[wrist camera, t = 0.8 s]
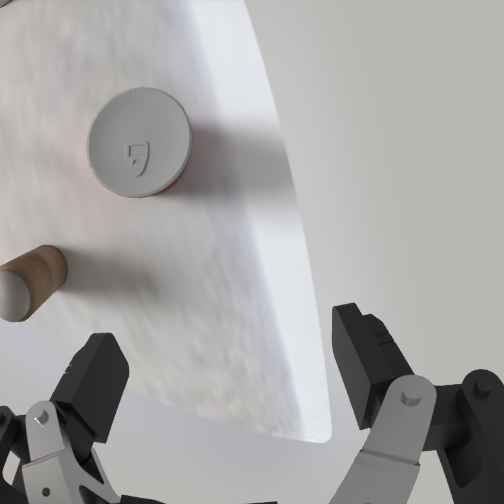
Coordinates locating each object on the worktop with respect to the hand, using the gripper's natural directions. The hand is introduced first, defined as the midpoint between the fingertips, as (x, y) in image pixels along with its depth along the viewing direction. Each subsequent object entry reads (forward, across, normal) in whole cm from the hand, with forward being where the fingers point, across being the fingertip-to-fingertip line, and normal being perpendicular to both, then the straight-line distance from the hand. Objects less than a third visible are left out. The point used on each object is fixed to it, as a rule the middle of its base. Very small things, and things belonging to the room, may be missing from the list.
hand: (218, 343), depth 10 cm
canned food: (+22, +8, -6) cm, 24 cm away
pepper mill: (+17, +22, +2) cm, 28 cm away
